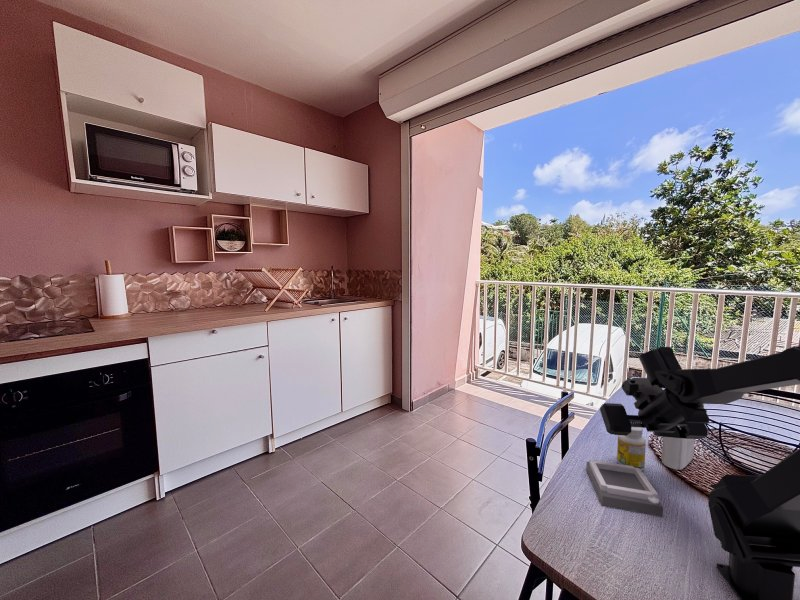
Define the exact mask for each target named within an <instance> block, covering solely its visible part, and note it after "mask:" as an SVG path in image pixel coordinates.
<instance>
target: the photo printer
mask: <svg viewBox="0 0 800 600" xmlns="http://www.w3.org/2000/svg"><path fill="white" fill-rule="evenodd" d="M661 448H662V449H661V463H662V464H663V465H664V466H665V467H667V468H670V469H672V470H676V471H678V470H683V469H684V468H686V467H687V466H688V465H689V464H690V463H691V462H692V461H693V458H694V454H695V453H694V450H695V449H694V448H695V439H684V438H672V437H662V446H661Z"/></svg>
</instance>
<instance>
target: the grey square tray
mask: <svg viewBox="0 0 800 600" xmlns="http://www.w3.org/2000/svg"><path fill="white" fill-rule="evenodd" d="M586 472H587V475H588V477H589V479H590V481H591V484H592V486H593V488H594V491H595V492H596V495H597V497H598V499H599V502H600V504H601V506H602V507H608V508H613V509H614V508H615V509H619V510H625V511H629V512H636V513H641V514H646V515H652V516H657V517H664V505H663V504H662V502H661V501H660V500H659V494H658V492H657V491H656V490H655V488H654V486H653V485H652V484H651V483H650V481H649V480H648V478H647V477H646V476H645V474H644V473H643V470H642V471H641V470H640V469H639V468H634V467H633V466H629V465H622V464H619V463H614V462H607V461H599V460H593V461H592V460H589V461H586Z"/></svg>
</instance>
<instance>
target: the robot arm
mask: <svg viewBox="0 0 800 600" xmlns="http://www.w3.org/2000/svg"><path fill="white" fill-rule="evenodd" d="M674 352H675V351H674V350H673V348H672V347H671V346H659V347H658V348H657V349H656V348H655V349H651V350H648V351H646V352H643V353H641V354H640V355H639V356H638V359H639V361H640V363H641V365H642V367H643V370H644V372H645V374H646V376H647V377H633V378H627V379H626V380H624V381H623V382H622V384H621V390H622V391H623V392H624V394H625V396H629V397H633V398H634V399H635V400H636V401H635V402H634V403H633V405H634V407H635V410H638V411H637V414H628V413H627V411H626V407H625V406H624V405H623V404H622V403H611V402H610V403H609V402H606V403H605V402H604V403H603V404H602V405H601V406H600V407H599V412H600V414H601V417H602V420H603V423H604V424H603V425H604V426H605V429H606V432H607V433H608V434H610V435H614V436H618V435H625V436H628V434H630V433H631V429H632V427H638V428H642V429H646V431H647V433H648V432H650V433H653V434H654V436H655V437H662V438H663V437H672V438H684V439H694V440H695V439H696V440H697V439H698V440H702V439H704V438H707V437H708V435H709V428H708V427H707V425H706V424H709V423H710V416H709V415H708V413H707V412H708V411H707V409H706V408H705V405H704V404H708V405H727V404H730V403H733V402H736V401H739V400H740V399H742V398H743V397H744V395H745V394H748V393H752V392H753V393H754V392H759V391H764V390H772V389H778V388H784V387H786V388H787V387H790V386H797V385H800V345H797V346H796V345H795V346H791V347H790V348H786V349H784V350H782V351H780V352H779V351H778V352H776V353H772V354H769V355H764V356H760V357H757V358H752V359H748V360H745V361H740V362H736V363H733V364H729V365H726V366H721V367H718V368H686V369H685V368H684V369H683V368H682V366H681V364H680V363H679V361H678V359H677V357H676V355H675V353H674ZM710 487H711V488H712V489H711V491H710V492H709V494H708V500H707V501H708V504H707V505H708V510H709V514H710V519H711V524H712V528H713V529H712V530H713V534H714V537H715V538H716V539H717V540H718V541H719V542H720V544H721V548H722V550H723V551H725V552H727V553H729V556H728V565H727V564H723V563H719V562H718V563H716V564H715V565H716V566H715V567H716V569H717V570H718V571H719V573H720V574H721V576H722V577H723V578H724V579H725V581H726V583H727V584H728V585H729V587H730V588H731V589H732V590H733V592H734V593H735V595H736V596H737V597H738V599H739V600H794V591H795V590H794V588H795V580H796V574H795V572H794V571H793V569H794V568H800V447H799V448H798V449H796V450H795V451H793V452H792V453H790V454H789V455H787V456H786V457H785V458H783V459H782V460H780V461H779V462H777V464H775V465H773V466H772V467H771V468H770V469H768V470H767V471H765V472H764V473H763V474H760V475H746V474H728V473H727V474H725V475H723V476H721V477H720V480H719V481H718V482H717V483H715V484H714V483H713V484H712V483H711V484H710Z"/></svg>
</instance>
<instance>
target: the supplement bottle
mask: <svg viewBox="0 0 800 600" xmlns="http://www.w3.org/2000/svg"><path fill="white" fill-rule="evenodd" d="M643 429H644V428H638V427H632V429H631V433H630V434H628V436H625V435H617V447H616V448H617V452H616V453H617V454H616V462H617V464H622V465H629V466H633V467H634V468H639V469H640V470H641V471H642V472H643V470H645V466H646V465H645V464H646V447H647V446H646V443H647V441H646V439H645V437H644V436H643V431H644V430H643Z"/></svg>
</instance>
